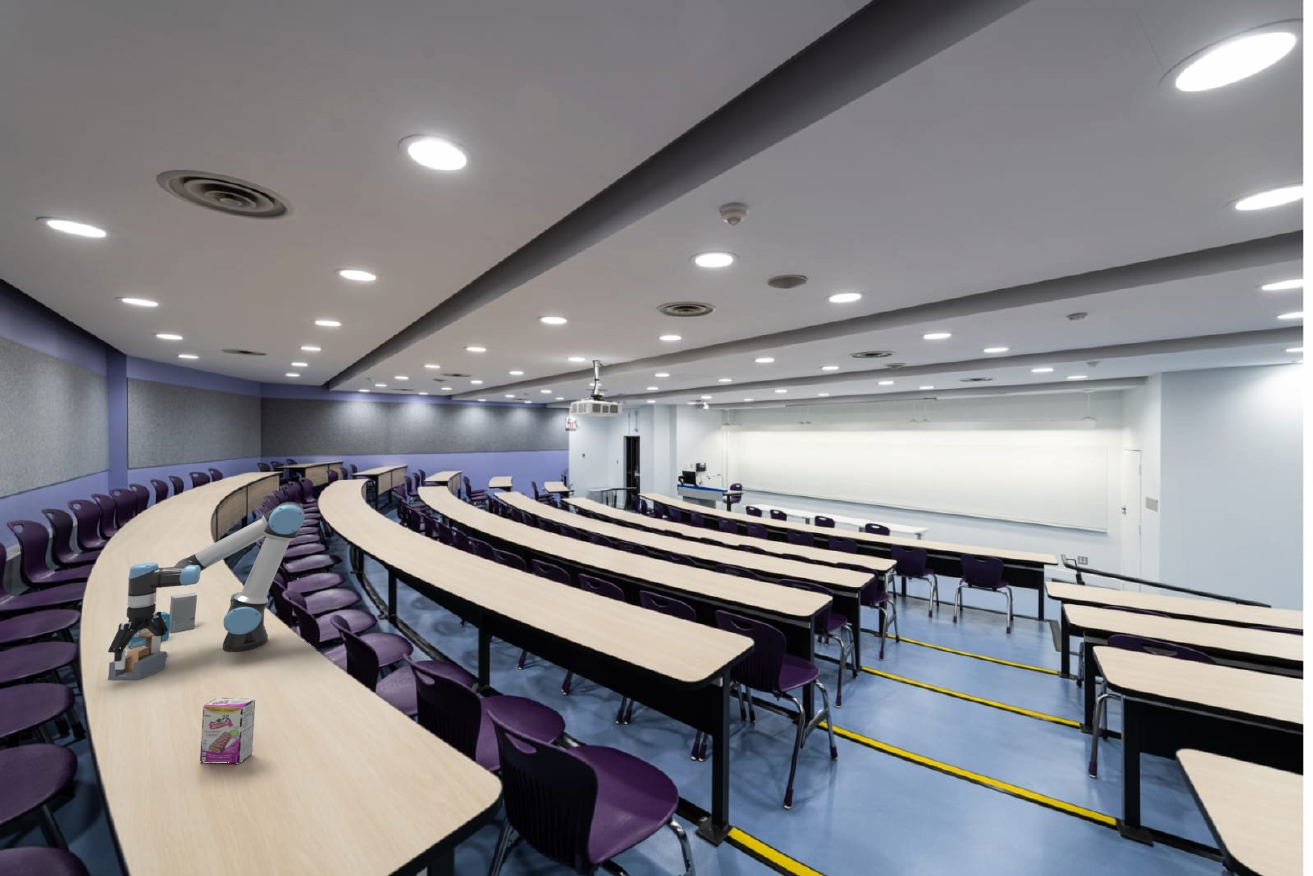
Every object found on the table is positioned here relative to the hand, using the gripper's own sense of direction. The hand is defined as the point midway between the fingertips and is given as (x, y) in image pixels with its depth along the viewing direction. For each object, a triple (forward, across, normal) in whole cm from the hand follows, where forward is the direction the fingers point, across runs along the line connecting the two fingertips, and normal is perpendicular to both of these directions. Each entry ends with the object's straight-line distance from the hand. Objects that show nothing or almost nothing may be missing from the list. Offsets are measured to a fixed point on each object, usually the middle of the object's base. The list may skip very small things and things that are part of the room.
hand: (138, 660), depth 183 cm
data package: (+5, -27, -21) cm, 35 cm away
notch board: (+5, 0, 0) cm, 5 cm away
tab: (+4, 0, 0) cm, 4 cm away
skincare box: (+5, -43, -21) cm, 48 cm away
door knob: (+5, -12, -6) cm, 14 cm away
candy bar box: (+5, +50, +71) cm, 87 cm away
